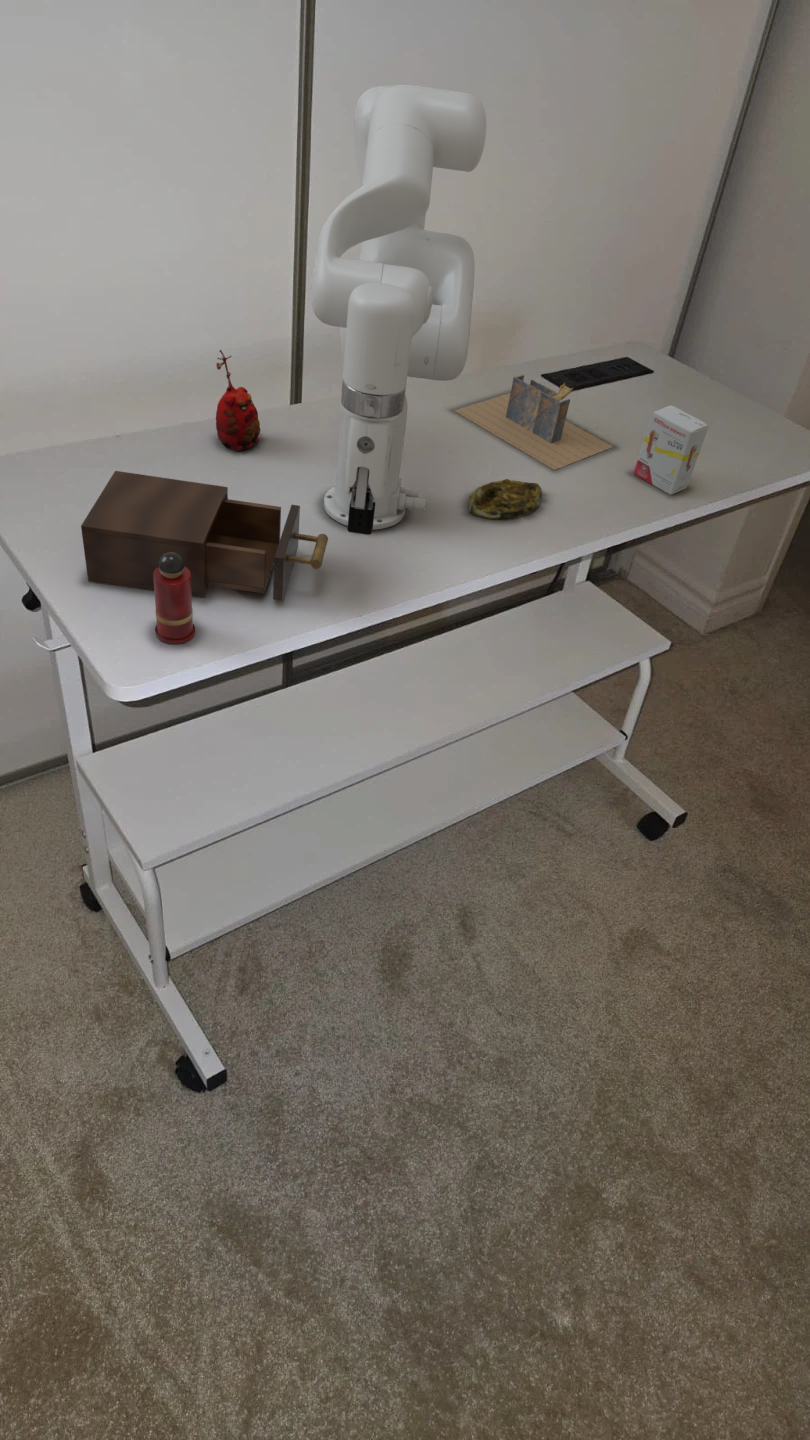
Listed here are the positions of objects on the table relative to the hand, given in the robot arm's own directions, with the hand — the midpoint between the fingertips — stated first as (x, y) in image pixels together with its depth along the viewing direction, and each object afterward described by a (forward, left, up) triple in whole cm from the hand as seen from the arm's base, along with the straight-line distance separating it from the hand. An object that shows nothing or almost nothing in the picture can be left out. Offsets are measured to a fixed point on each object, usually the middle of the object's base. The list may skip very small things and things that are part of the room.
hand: (360, 530), depth 127 cm
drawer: (+14, 0, -9) cm, 16 cm away
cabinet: (+27, 0, -10) cm, 29 cm away
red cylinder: (+21, +15, -10) cm, 27 cm away
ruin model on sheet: (-26, -57, -10) cm, 64 cm away
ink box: (-48, -44, -10) cm, 66 cm away
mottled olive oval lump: (-21, -29, -10) cm, 37 cm away
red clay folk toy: (+24, -36, -10) cm, 45 cm away
